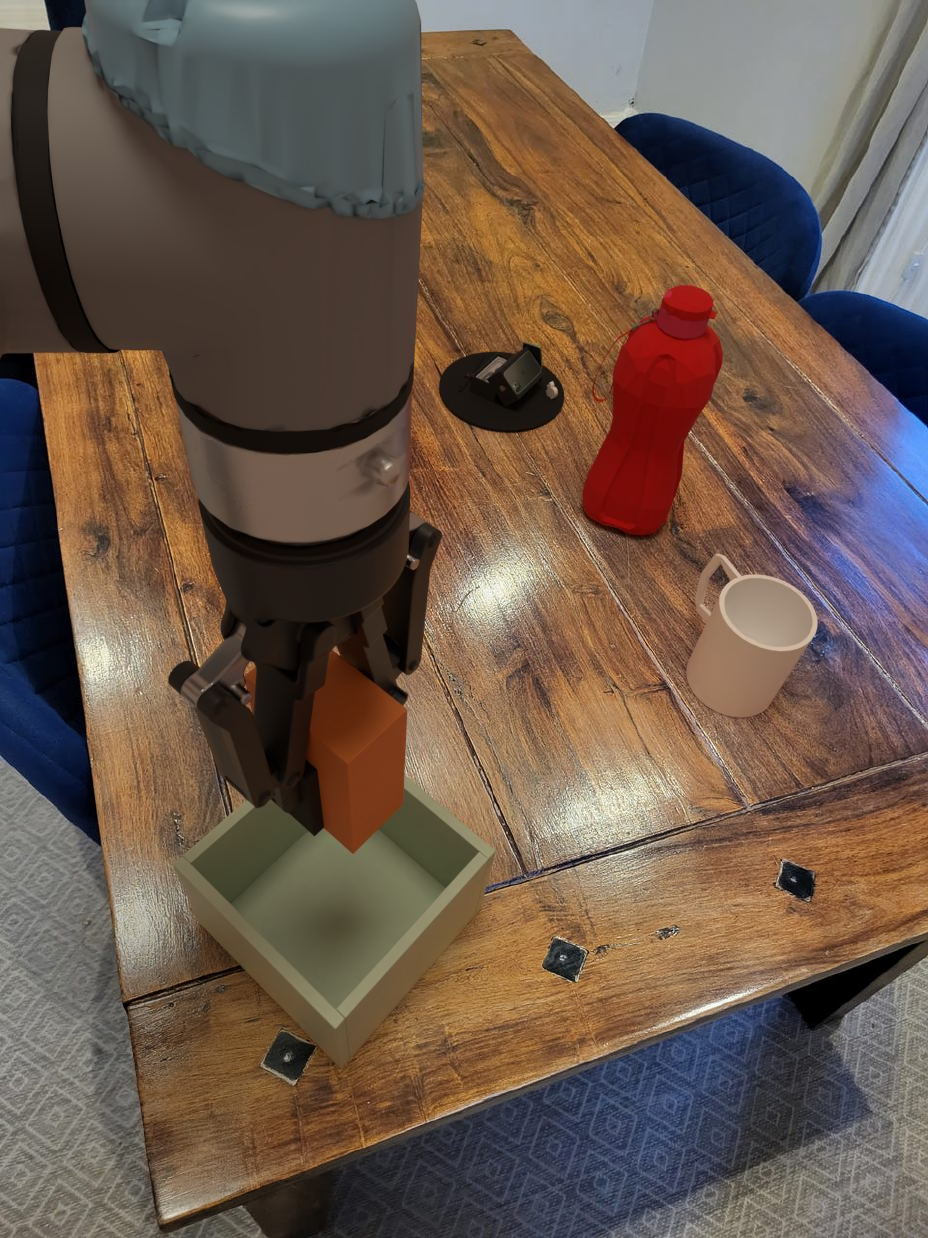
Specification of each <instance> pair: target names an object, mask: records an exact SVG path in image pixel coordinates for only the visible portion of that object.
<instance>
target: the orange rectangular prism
mask: <svg viewBox="0 0 928 1238" xmlns="http://www.w3.org/2000/svg"><path fill="white" fill-rule="evenodd" d="M244 677H245V679H246V685H245V688H246V690H248V691H249V692H250V693H251V694H252V699H251V701H250V702H249V706H250V710H251V712H252V713H253V715H254V701H255V686H256V666H255V667H254V668H252V669H251V670H250V671H248V672H247V673H246V674H244ZM407 725H408V708H407V707H405V706H404V705H401V704H400V703H399V702H398V701H396V700H395V699H394V698H393V697H391V696H390V695H389V694H387V693H386V692H385V691H384V690H382V689H381V688H380V687H379V686H377V685H376V684H375V683H374V682H372V681H371V680H370V679H368V678H367V677H366V676H365V675H363V674H362V673H361V672H360V671H358V670H357V669H356V668H355V667H353V666H352V665H351V664H349V663H348V662H347V661H346V660H344V659H343V658H342V657H341V656H340V654H338V653H337V652H336V651H334V650H333V649H332V650H331V651H330V652H329V659H328V666H327V673H326V680H325V685H324V686H323V687H321V688H320V689H318V690H317V691H315V694H314V702H313V709H312V717H311V724H310V732H309V739H308V747H307V754H306V760H307V761H308V762H309V763H310V764H311V765H313V766H314V767H315V768H316V769H317V770H318V779H319V787H320V796H321V804H322V813H323V821H324V829H325V830H326V831H328V832H329V833H330V834H331V835H332V836H333V837H334V838H335V839H336V840H338V841H339V842H340V843H341V844H342V845H343V846H344V847H345V848H346V849H348V850H349V851H350V852H351V853H352V854H354V853H355V852H356V851H357V850H358V849H359V848H360V847H361V846H362V845H363V844H364V843H365V842H366V841H367V840H368V839H369V838H370V837H371V836H372V835H373V834H374V833H375V832H376V831H377V830H378V829H379V828H380V827H381V826H382V825H383V824H384V823H385V822H386V821H387V820H388V819H389V818H390V817H391V816H392V815H393V814H394V813H395V812H396V811H397V810H398V809H399V808H400V807H401V806H402V805H403V795H404V774H405V773H406V772H405V769H406V752H407V751H406V749H407V730H408V729H407V728H408V727H407ZM405 775H406V774H405Z"/></svg>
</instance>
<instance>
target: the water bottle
mask: <svg viewBox="0 0 928 1238" xmlns="http://www.w3.org/2000/svg"><path fill="white" fill-rule="evenodd" d="M714 302H715V301H714V298H713V297H712V296H711V294H710V293H709V292H708V291H707V290H705V289H703V288H701V287H698V286H696V285H692V284H679V285H677V286H673V287H671V288H669V289H668V290H666V291H665V292H664V294H663V296H662V299H661V302H660V306H659V308H657V307H655V308H653V309H652V311H651V314H650V315H648V316H646V317H643V318H642V319H641V320H640V321H639V322H637V323H636V324H634V325H633V326H632V327H631V328H630V329H629V330H627V331H626V332H624V333H623V334H621V335H619V336H618V337H617V338H616V339H615V340H614V342H613V343H612V345H611V346H610V348H609V349H608V350H607V353H606V354H605V356H604V358H603V360H602V361H601V363H600V366H599V367H598V369H597V372H596V375H595V377H594V379H593V383H592V386H591V387H592V388H591V389H592V390H591V394H592V398H593V400H594V401H596V402H598V403H603V402H605V401H607V400H608V398H609V397H610V395H611V392H612V418H611V424H610V428H609V430H608V432H607V434H606V436H605V438H604V439H603V442H602V444H601V446H600V448H599V450H598V452H597V455H596V457H595V458H594V460H593V463H592V464H591V465H590V468H589V470H588V472H587V474H586V478H585V480H584V484H583V487H582V494H581V495H582V496H581V500H582V501H581V502H582V508H583V510H584V512H585V513H586V515H587V516H588V517H589V518H590V519H592V520H593V521H595V522H597V523H599V524H600V525H601V526H606V527H611V528H616V529H618V530H620V531H622V532H624V533H626V534H628V535H635V536H636V535H637V536H645V535H650V534H655V533H656V532H657V531H658V530H659V529H660V528H661V526H662V525H664V524H665V523H666V521H667V520H668V516H669V514H670V512H671V509H672V506H673V503H674V501H675V498H676V496H677V492H678V489H679V486H680V483H681V480H682V477H683V467H684V452H685V442H686V439H687V437H688V435H689V433H690V432H691V430H692V428H693V426H694V425H695V423H696V422H697V420H698V418H699V417H700V415H701V414H702V412H703V410H704V409H705V408H706V406H707V404H708V403H709V401H710V400H711V398H712V395H713V390H714V385H715V383H716V381H717V379H718V377H719V375H720V371H721V369H722V366H723V359H724V351H723V347H722V343H721V340H720V338H719V335H718V334H717V333H716V331H714V329H713V328H712V327H710V326H709V325H708V323H709V320H716V317H717V315H718V312H717V311H716V310H713V308H714ZM624 336H626V337H625V339H624V341H623V343H622V345H621V347H620V348H619V352H618V356H617V359H616V361H615V364H614V365H613V371H612V382H611V386H610V389H609V392H608V395H607V396H606V397H605V398H602V399H601V398H598V397H597V396H596V394H595V384H596V379H597V376H598V375H599V372H600V370H601V368H602V365H603V363H604V361H605V360H606V358H607V357H608V354H609V353H610V351H611V350H612V348H613V346H614V345H615V344H616V343H617V342H618V341H619V340H620V339H621V338H623V337H624Z"/></svg>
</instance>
